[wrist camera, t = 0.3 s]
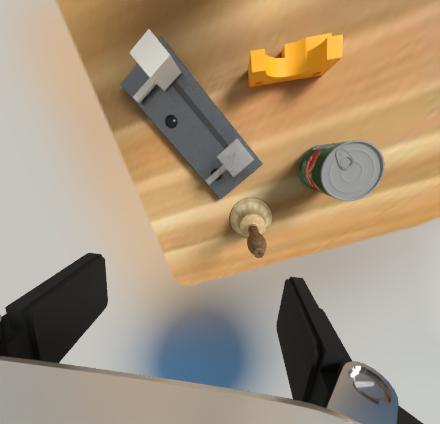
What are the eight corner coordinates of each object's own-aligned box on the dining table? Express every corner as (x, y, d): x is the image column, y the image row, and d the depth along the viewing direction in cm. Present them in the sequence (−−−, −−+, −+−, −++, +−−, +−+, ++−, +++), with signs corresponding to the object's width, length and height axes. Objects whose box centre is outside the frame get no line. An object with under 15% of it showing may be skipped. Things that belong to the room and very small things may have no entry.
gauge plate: (164, 41, 34) (144, 10, 26) (261, 163, 38) (268, 165, 30) (124, 87, 36) (97, 70, 29) (221, 197, 40) (217, 207, 33)
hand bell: (221, 216, 41) (212, 252, 26) (252, 188, 39) (263, 210, 24) (248, 245, 42) (256, 295, 27) (280, 219, 40) (308, 258, 25)
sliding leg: (164, 51, 32) (148, 28, 27) (181, 72, 33) (170, 54, 27) (129, 91, 34) (108, 78, 29) (146, 110, 35) (128, 101, 29)
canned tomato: (350, 172, 37) (396, 178, 26) (311, 197, 39) (339, 212, 28) (328, 135, 36) (367, 126, 25) (288, 162, 37) (310, 165, 27)
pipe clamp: (322, 44, 32) (343, 18, 26) (322, 75, 33) (342, 57, 27) (246, 58, 34) (249, 36, 27) (249, 87, 35) (252, 72, 29)
